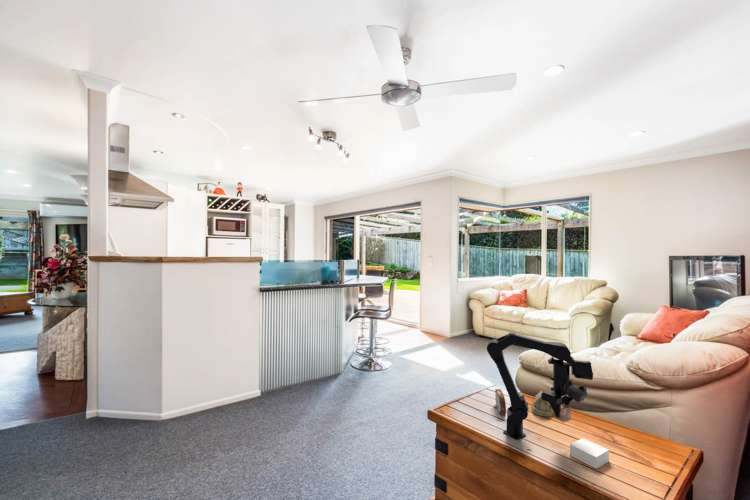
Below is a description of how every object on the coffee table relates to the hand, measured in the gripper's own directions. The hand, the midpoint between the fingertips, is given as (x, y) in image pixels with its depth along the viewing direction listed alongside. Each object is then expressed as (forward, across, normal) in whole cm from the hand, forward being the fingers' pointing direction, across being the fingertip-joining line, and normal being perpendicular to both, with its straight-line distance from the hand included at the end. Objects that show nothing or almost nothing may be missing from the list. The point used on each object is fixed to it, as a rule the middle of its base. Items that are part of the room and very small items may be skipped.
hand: (561, 415), depth 129 cm
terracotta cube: (+1, 0, 0) cm, 1 cm away
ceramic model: (+12, +22, +21) cm, 32 cm away
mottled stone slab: (+11, +4, +32) cm, 34 cm away
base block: (+11, 0, -10) cm, 15 cm away
